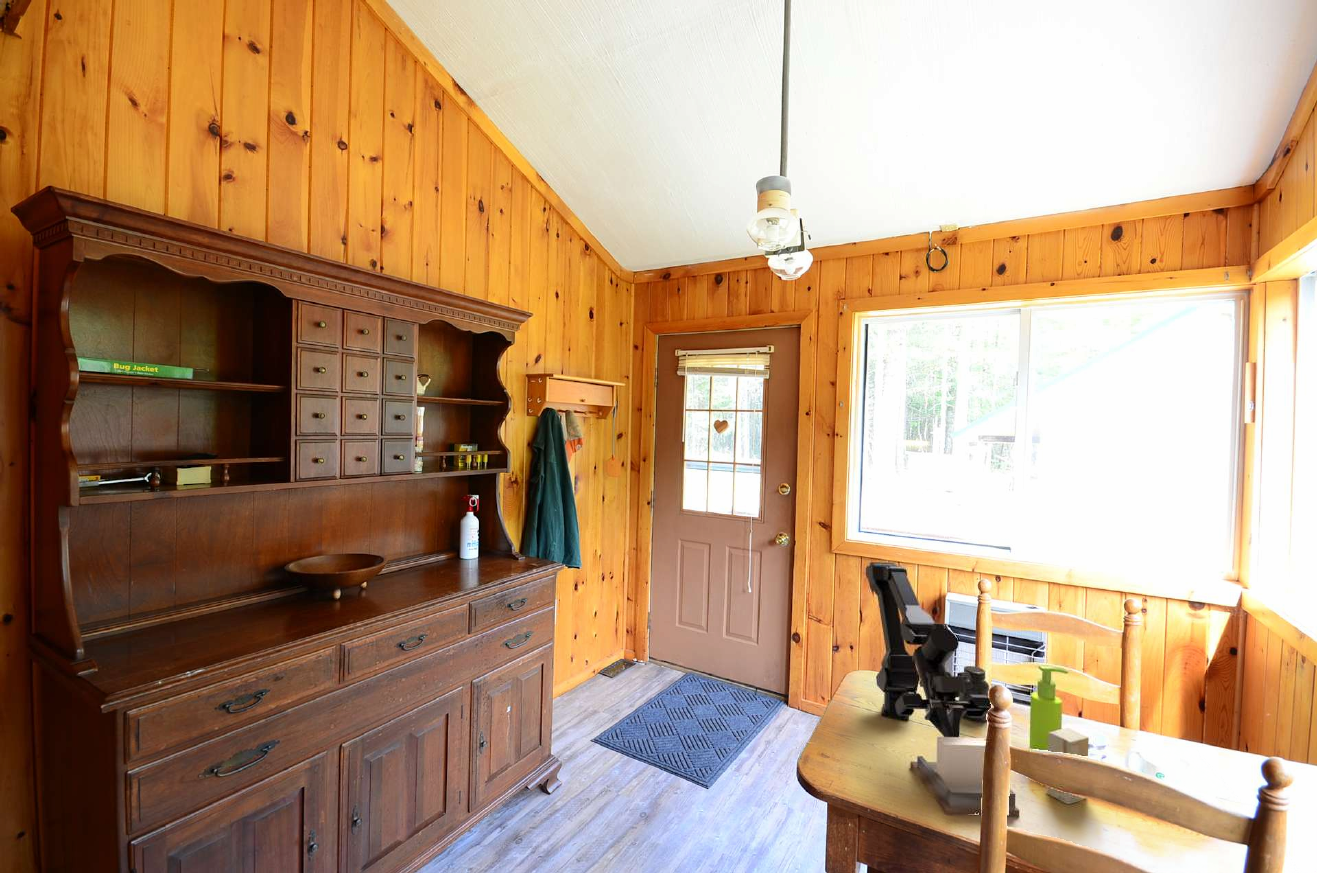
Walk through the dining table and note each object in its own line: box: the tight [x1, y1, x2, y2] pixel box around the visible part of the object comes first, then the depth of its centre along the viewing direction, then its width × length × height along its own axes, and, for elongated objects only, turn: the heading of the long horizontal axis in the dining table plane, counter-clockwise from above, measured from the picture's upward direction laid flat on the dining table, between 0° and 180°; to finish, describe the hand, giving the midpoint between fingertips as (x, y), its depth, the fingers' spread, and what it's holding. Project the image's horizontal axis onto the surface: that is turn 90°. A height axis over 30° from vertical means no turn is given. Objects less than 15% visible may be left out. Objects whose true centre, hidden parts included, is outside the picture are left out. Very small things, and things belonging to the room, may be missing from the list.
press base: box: [909, 755, 1020, 818], centre depth 118 cm, size 16×14×4 cm
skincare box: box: [1046, 727, 1090, 805], centre depth 118 cm, size 6×4×12 cm
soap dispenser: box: [1029, 664, 1069, 750], centre depth 132 cm, size 6×7×20 cm
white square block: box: [936, 736, 987, 788], centre depth 118 cm, size 4×9×9 cm, turn 90°
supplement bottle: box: [958, 665, 990, 723], centre depth 151 cm, size 7×7×12 cm
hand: (956, 748), depth 121 cm, fingers closed, pressing on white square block
